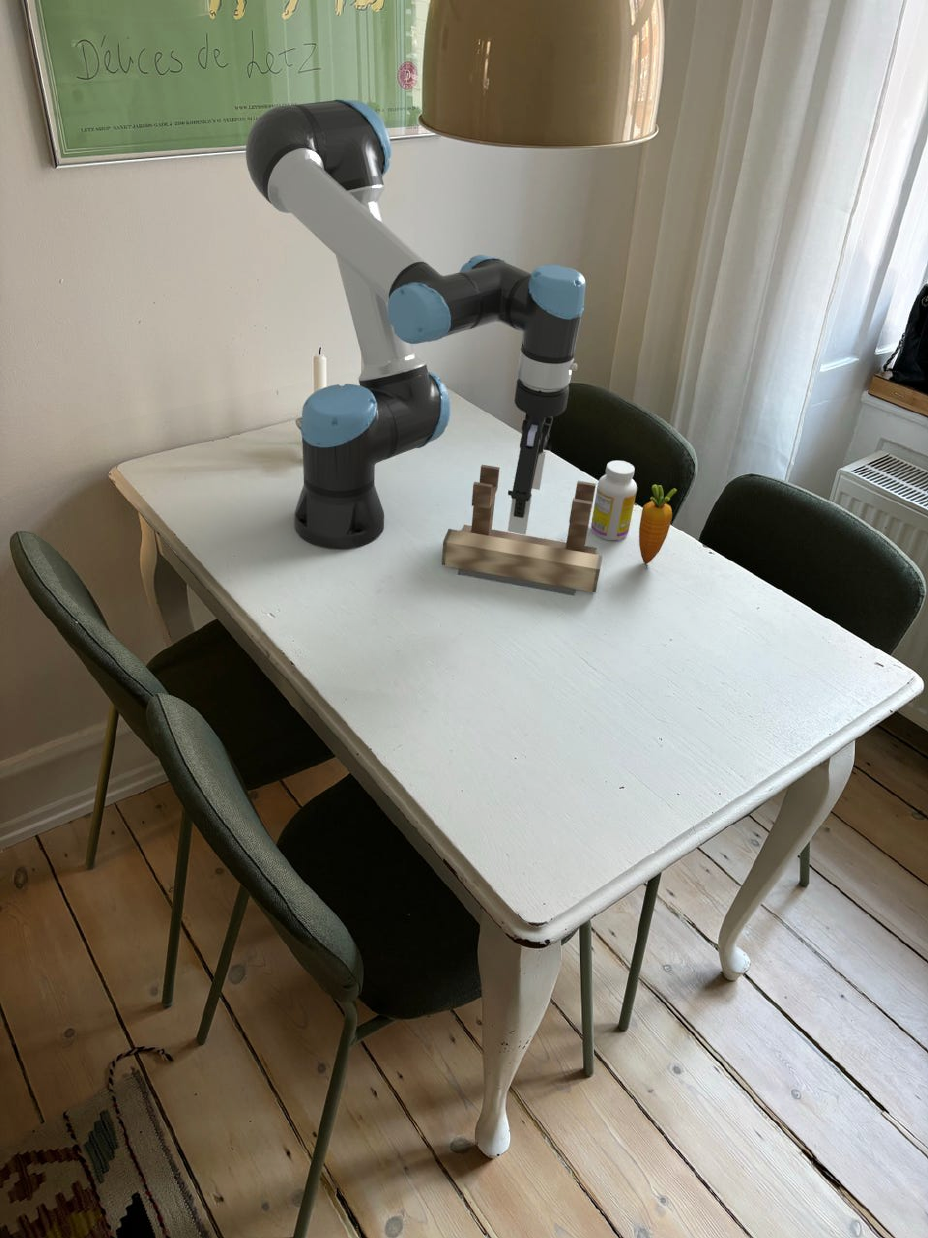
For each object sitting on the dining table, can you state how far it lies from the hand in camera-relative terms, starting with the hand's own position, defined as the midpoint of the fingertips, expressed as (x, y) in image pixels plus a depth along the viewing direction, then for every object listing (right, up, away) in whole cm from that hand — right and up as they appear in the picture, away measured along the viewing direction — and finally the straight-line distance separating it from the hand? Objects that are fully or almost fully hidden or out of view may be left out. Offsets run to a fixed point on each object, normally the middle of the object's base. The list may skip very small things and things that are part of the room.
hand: (524, 508), depth 151 cm
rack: (+1, -5, +13) cm, 14 cm away
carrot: (+21, -8, +12) cm, 26 cm away
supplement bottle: (+16, -2, +20) cm, 25 cm away
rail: (0, -9, +7) cm, 12 cm away
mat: (-1, -10, +7) cm, 12 cm away
